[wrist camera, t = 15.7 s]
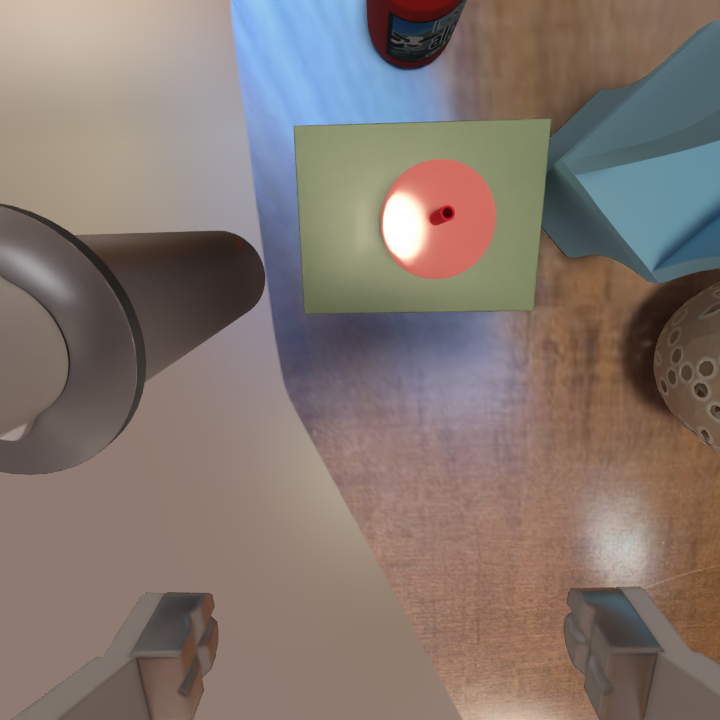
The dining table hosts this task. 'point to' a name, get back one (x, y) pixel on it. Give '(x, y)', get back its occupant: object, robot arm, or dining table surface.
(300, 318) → the dining table surface
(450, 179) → the cup
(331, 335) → the dining table surface
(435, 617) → the dining table surface
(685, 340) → the ornament
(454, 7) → the beverage can
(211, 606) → the robot arm
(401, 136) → the sage green box
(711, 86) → the vase
